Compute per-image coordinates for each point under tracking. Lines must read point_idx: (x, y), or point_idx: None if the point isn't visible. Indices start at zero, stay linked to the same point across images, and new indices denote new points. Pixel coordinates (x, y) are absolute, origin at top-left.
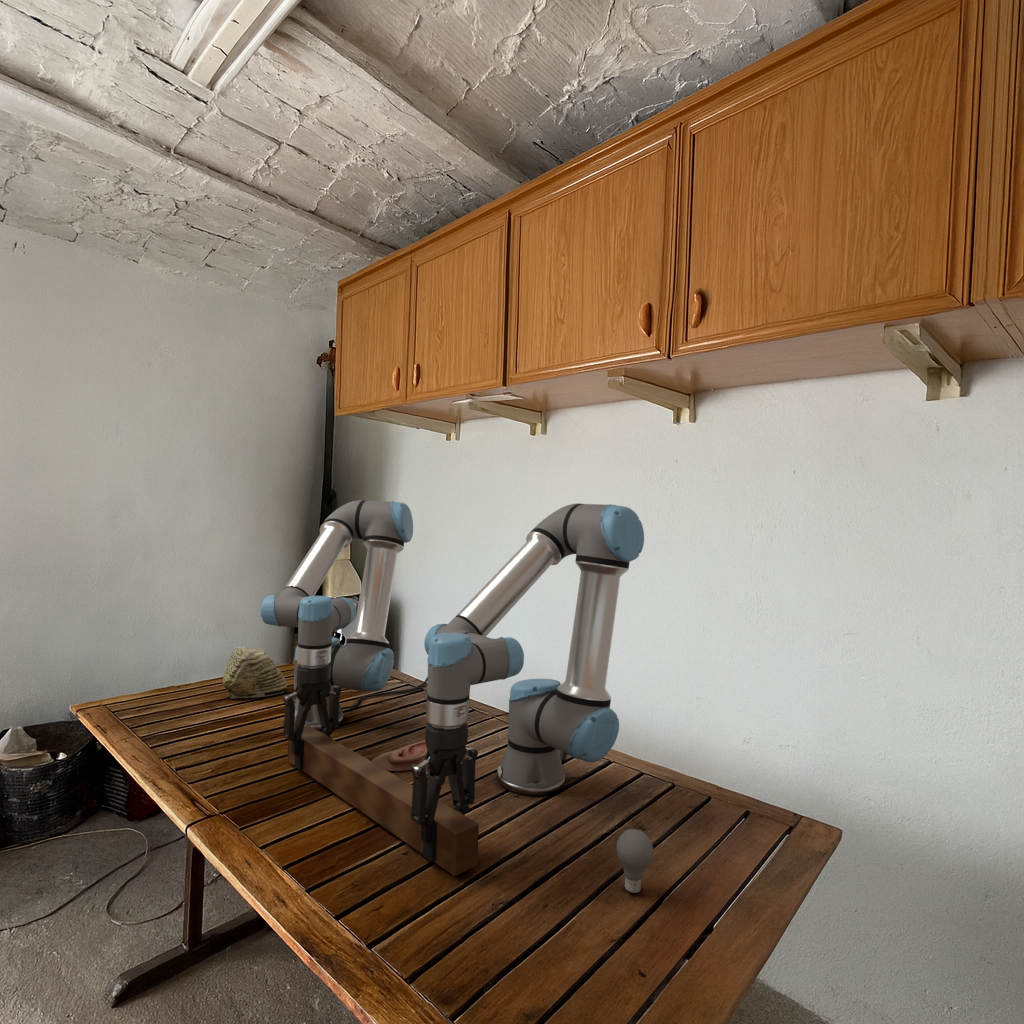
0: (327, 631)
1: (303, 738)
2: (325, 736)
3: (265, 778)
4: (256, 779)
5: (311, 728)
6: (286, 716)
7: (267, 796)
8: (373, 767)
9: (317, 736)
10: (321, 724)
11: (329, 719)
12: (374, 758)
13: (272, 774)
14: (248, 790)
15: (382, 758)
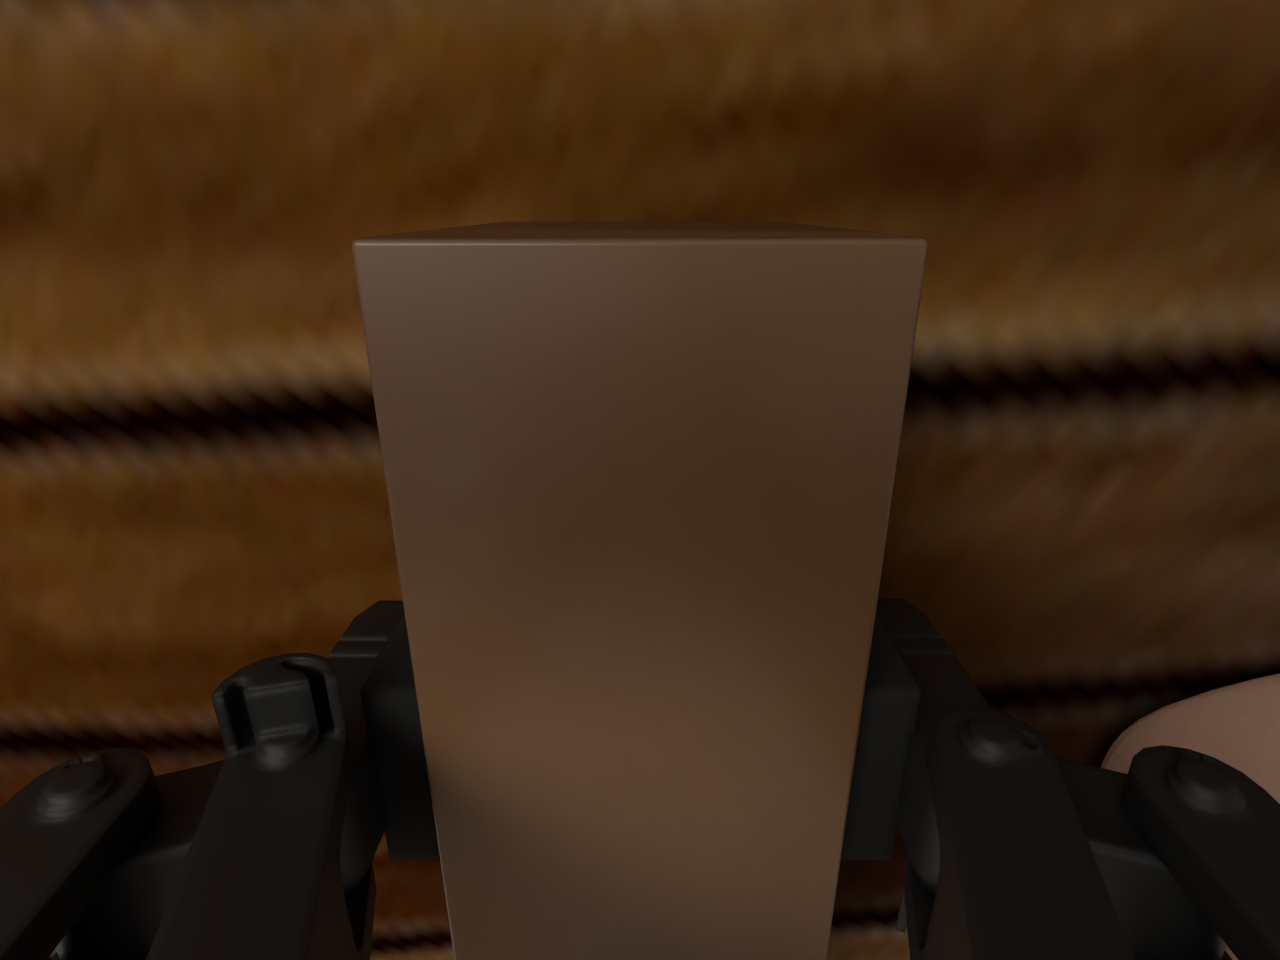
0: None
1: (454, 834)
2: (794, 946)
3: (202, 416)
4: (113, 382)
5: (839, 504)
6: None
7: (148, 726)
8: None
9: (693, 885)
10: (946, 862)
11: (1232, 919)
12: (1191, 743)
13: (288, 372)
14: (13, 551)
15: None
